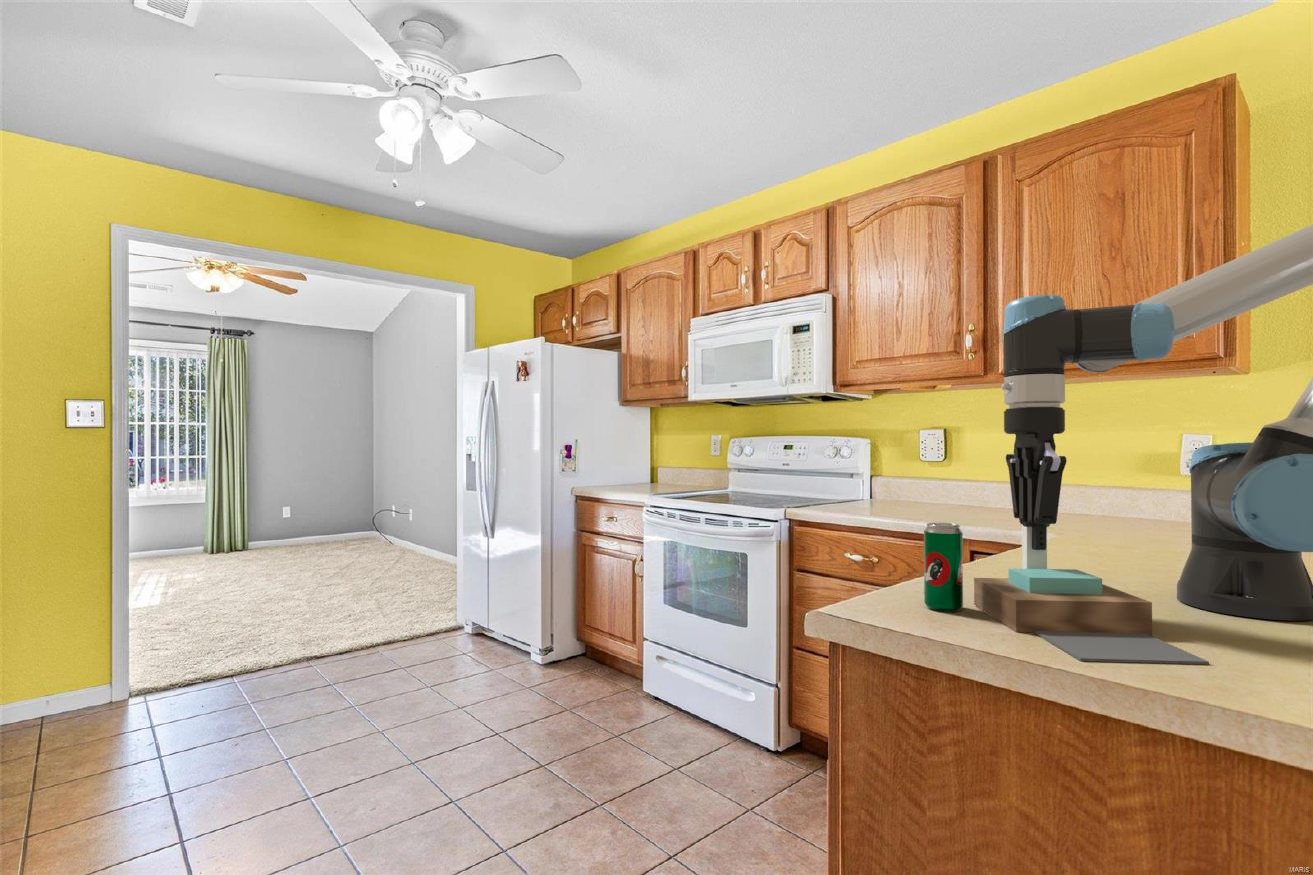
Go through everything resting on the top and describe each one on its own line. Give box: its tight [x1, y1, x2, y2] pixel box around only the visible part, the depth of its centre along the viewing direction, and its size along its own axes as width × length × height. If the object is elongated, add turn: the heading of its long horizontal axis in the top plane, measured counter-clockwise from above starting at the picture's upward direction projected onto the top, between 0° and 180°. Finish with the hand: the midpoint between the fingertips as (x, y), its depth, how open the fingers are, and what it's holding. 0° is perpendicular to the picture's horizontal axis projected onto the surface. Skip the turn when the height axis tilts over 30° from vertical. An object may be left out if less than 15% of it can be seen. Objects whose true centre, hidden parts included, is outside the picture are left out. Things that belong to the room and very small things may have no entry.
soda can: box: [923, 522, 964, 613], centre depth 92 cm, size 5×5×12 cm
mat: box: [1034, 631, 1210, 665], centre depth 74 cm, size 13×10×1 cm
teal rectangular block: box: [1008, 568, 1103, 594], centre depth 87 cm, size 9×6×2 cm, turn 85°
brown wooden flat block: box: [973, 577, 1153, 636], centre depth 86 cm, size 16×13×4 cm
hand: (1034, 571), depth 92 cm, fingers closed
